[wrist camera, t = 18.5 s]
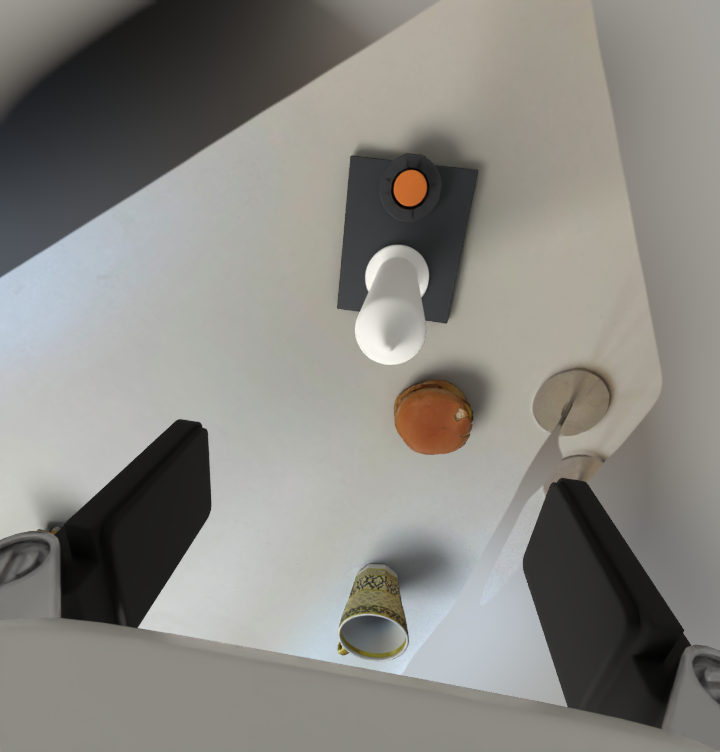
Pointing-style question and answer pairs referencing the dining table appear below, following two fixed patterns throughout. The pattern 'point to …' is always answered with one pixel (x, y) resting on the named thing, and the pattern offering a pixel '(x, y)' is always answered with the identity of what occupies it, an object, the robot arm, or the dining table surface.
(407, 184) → the button
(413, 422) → the burger
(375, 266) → the candle
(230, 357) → the dining table surface
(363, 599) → the ceramic cup
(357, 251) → the scale
